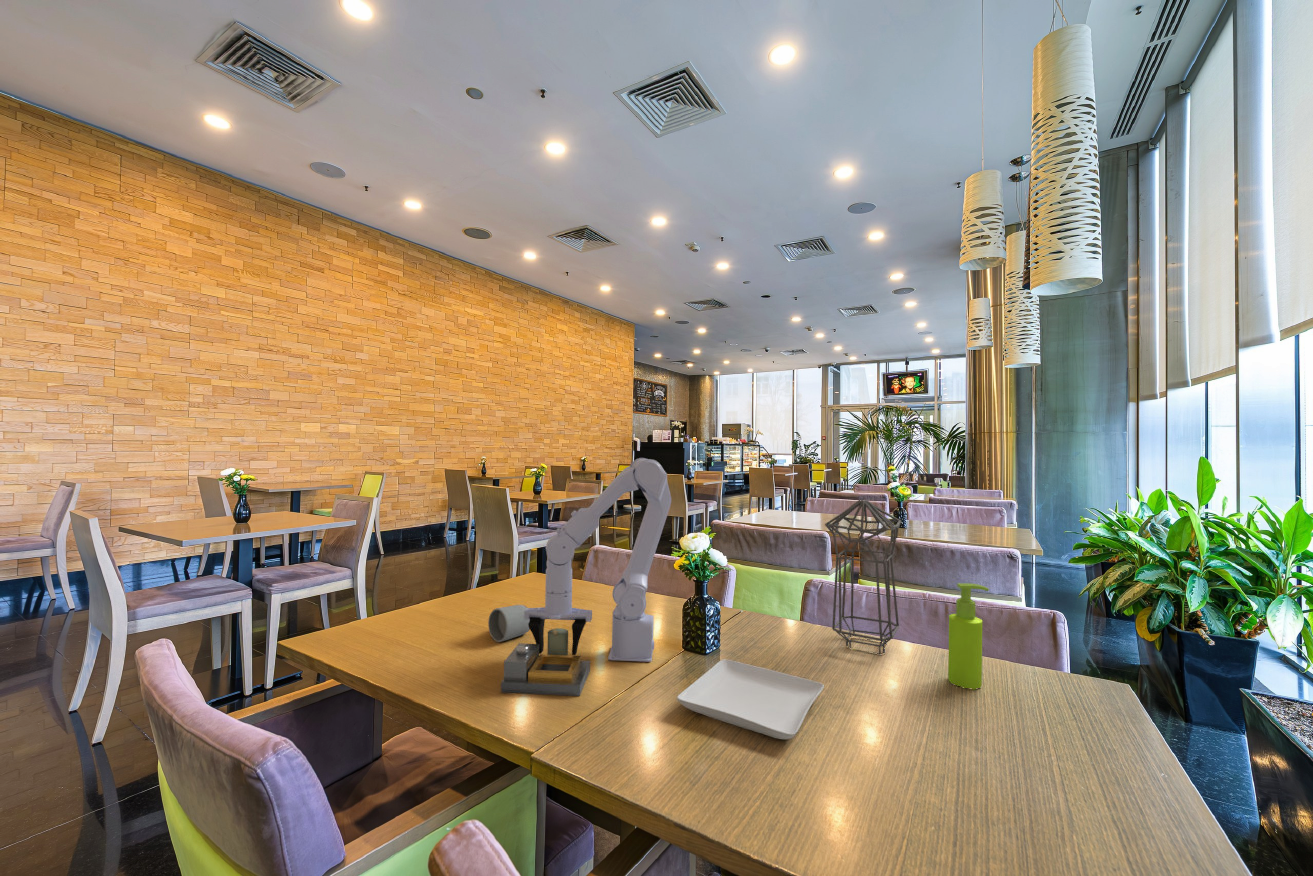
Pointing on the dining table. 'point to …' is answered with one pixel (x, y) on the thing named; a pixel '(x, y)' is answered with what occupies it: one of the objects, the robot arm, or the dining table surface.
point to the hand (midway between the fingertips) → (557, 652)
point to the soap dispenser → (965, 641)
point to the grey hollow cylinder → (508, 622)
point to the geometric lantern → (894, 529)
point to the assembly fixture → (543, 672)
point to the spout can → (557, 642)
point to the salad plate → (752, 698)
